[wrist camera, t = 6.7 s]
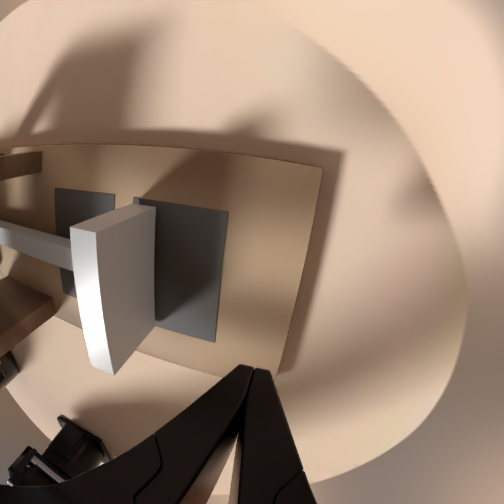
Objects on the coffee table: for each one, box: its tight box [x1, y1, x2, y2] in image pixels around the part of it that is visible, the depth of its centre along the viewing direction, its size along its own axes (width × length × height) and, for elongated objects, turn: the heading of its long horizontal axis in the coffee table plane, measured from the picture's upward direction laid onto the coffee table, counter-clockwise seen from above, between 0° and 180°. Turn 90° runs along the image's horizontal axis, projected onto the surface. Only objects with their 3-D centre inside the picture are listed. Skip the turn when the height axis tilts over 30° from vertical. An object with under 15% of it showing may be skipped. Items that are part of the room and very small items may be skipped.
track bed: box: [0, 144, 323, 383], centre depth 14 cm, size 11×26×1 cm, turn 82°
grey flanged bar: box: [0, 203, 156, 376], centre depth 12 cm, size 7×20×4 cm, turn 82°
